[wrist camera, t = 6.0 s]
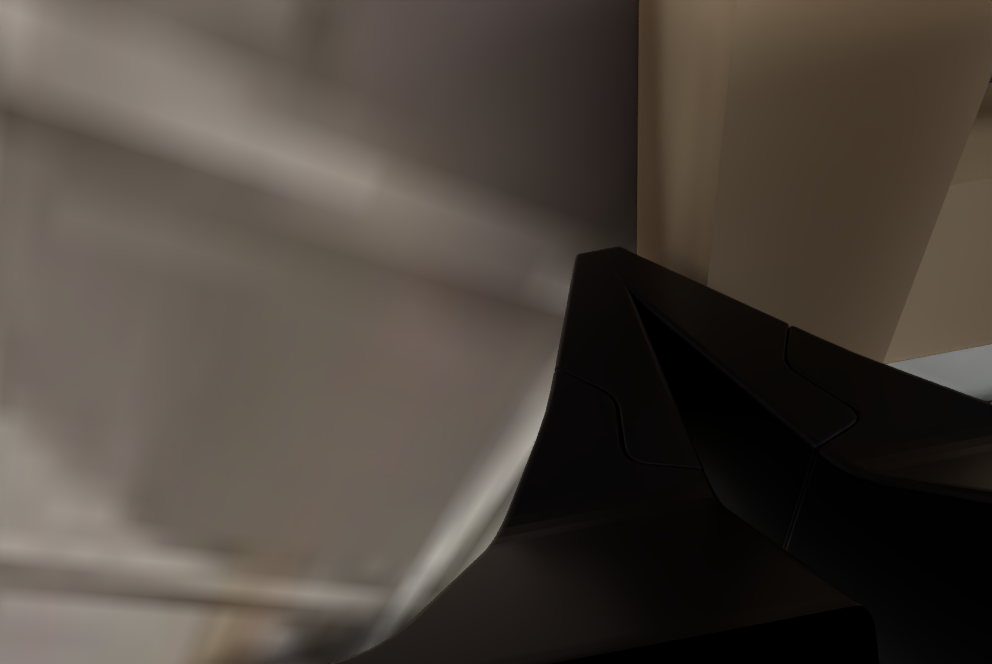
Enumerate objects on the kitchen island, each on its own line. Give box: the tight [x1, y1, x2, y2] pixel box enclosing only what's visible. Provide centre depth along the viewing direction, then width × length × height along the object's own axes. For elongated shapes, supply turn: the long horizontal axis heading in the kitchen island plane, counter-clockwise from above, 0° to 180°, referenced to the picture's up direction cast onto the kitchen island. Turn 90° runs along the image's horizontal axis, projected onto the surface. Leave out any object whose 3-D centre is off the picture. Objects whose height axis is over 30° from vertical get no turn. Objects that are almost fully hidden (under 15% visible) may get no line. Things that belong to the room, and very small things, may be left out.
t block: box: [637, 0, 992, 364], centre depth 9 cm, size 9×9×3 cm
